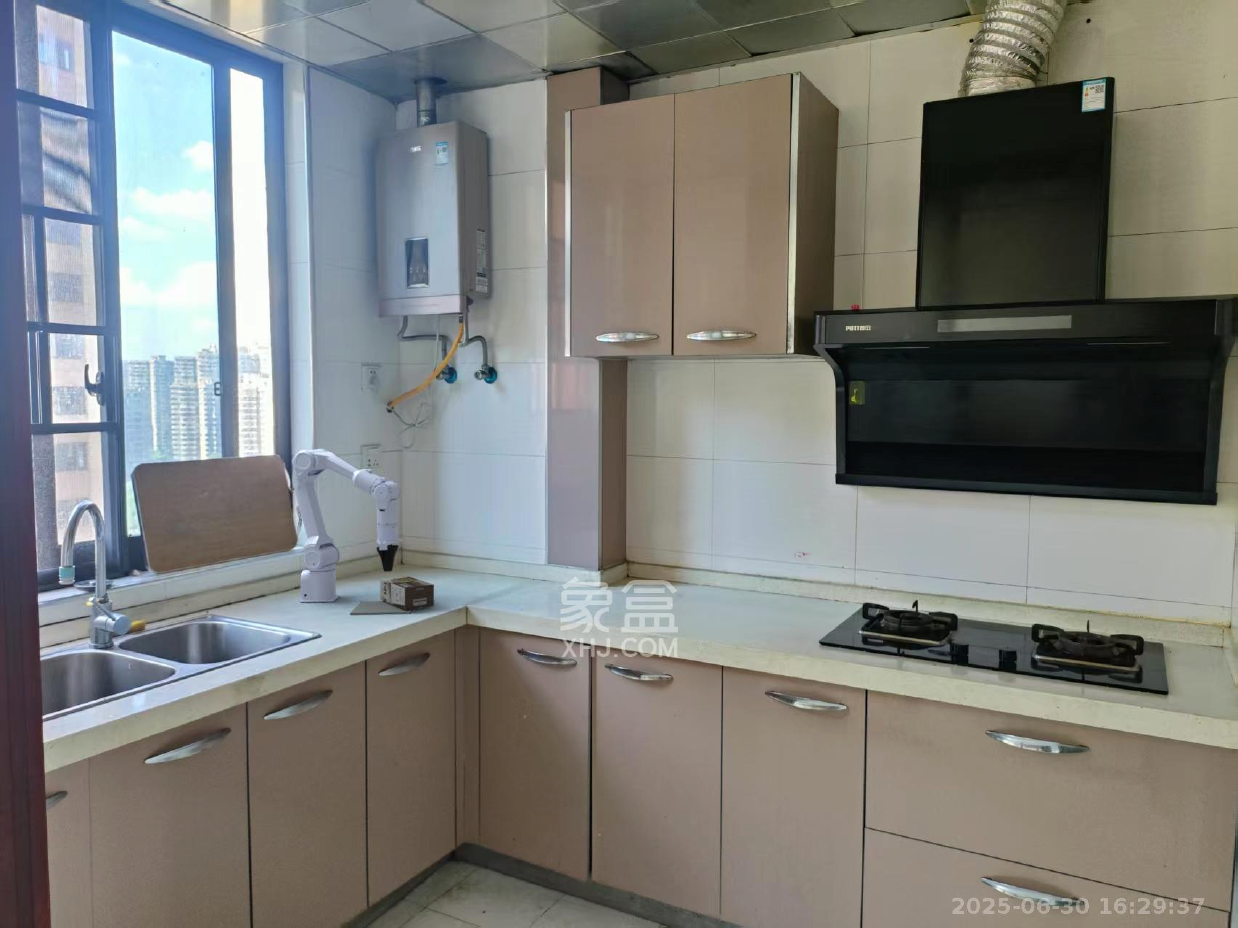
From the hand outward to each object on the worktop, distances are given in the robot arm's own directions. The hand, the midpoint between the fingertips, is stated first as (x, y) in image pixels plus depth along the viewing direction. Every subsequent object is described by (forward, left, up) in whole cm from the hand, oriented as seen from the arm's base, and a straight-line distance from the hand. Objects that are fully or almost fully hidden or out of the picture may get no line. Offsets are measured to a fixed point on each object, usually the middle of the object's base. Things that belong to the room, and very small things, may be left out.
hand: (388, 571), depth 245 cm
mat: (0, -6, -9) cm, 11 cm away
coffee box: (+1, +4, -6) cm, 7 cm away
